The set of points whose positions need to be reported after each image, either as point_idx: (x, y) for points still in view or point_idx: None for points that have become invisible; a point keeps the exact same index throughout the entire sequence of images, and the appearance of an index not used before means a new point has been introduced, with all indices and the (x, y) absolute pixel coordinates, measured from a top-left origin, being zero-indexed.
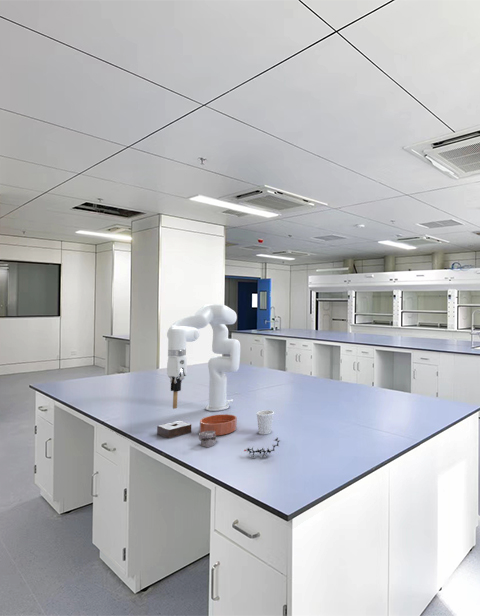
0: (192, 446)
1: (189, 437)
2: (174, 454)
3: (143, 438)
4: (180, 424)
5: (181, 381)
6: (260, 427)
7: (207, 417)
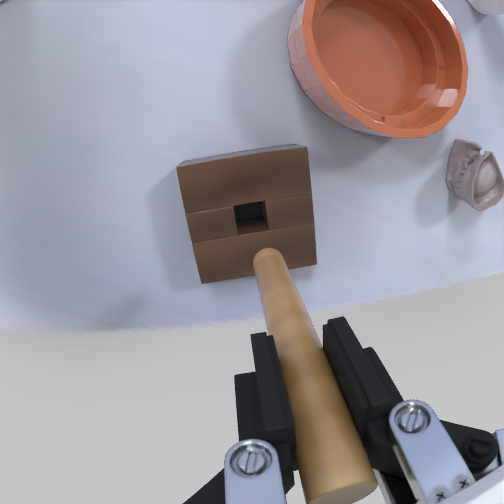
0: (445, 217)
1: (358, 181)
2: (452, 279)
3: (227, 315)
4: (264, 191)
5: (434, 415)
6: (501, 13)
7: (316, 54)
